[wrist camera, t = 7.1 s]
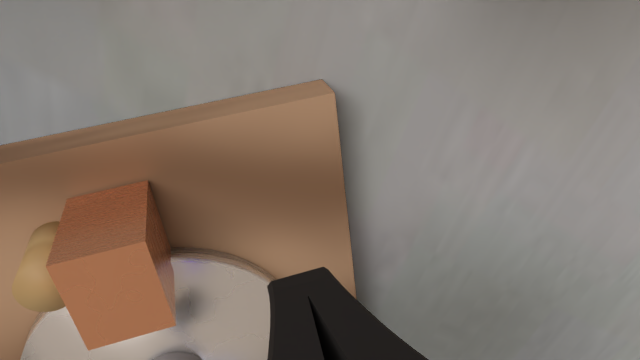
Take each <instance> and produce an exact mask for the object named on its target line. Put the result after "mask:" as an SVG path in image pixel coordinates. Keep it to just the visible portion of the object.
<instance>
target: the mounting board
mask: <svg viewBox="0 0 640 360" xmlns="http://www.w3.org/2000/svg"><path fill="white" fill-rule="evenodd" d="M146 180H148V182H149V185H150V188H151V191H152V194H153V197H154V200H155V203H156V206H157V209H158V212H159V215H160V218H161V221H162V224H163V227H164V230H165V233H166V236H167V239H168V242H169V245H170V247H194V248H203V249H212V250H216V251H220V252H225V253H229V254H232V255H235V256H238V257H240V258H243V259H246V260H248V261H250V262H251V263H253V264H255V265H257V266H259V267H261V268H262V269H264V270H265V271H266V272H268V273H269V274H271V275H272V276H273V277H274V278H275V279H276V280H277V279H281V278H284V277H288V276H291V275H295V274H299V273H302V272H306V271H309V270H313V269H317V268H320V267H325V268H327V269H329V271H330V272H331V273H332V274H333V275H334V277H335V278H336V279H337V280H338V281H339V282H340V283H341V284H342V285H343V287H344V288H345V289H346V290H347V291H348V292H349V293H350V294H351V295H352V296H353V297H354V298H355V299H356V290H355V280H354V271H353V261H352V252H351V243H350V233H349V224H348V214H347V205H346V195H345V186H344V176H343V167H342V157H341V148H340V138H339V129H338V119H337V110H336V100H335V92H334V91H333V90H332V89H331V88H330V87H329V86H328V85H327V84H326V83H325V82H324V81H323V80H322V79H321V80H316V81H311V82H306V83H302V84H297V85H292V86H287V87H282V88H277V89H272V90H268V91H263V92H258V93H253V94H248V95H243V96H238V97H234V98H229V99H224V100H219V101H214V102H209V103H204V104H200V105H195V106H190V107H185V108H180V109H175V110H171V111H166V112H161V113H156V114H151V115H146V116H141V117H137V118H132V119H127V120H122V121H117V122H112V123H107V124H103V125H98V126H93V127H88V128H83V129H78V130H73V131H69V132H64V133H59V134H54V135H49V136H44V137H40V138H35V139H30V140H25V141H20V142H15V143H10V144H6V145H1V146H0V360H20V359H21V356H22V352H23V349H24V346H25V343H26V340H27V337H28V334H29V331H30V329H31V327H32V325H33V323H34V321H35V319H36V318H37V316H38V314H39V313H40V312H52V311H56V310H59V309H62V308H64V307H66V306H65V304H64V302H63V300H62V298H61V296H60V294H59V292H58V290H57V288H56V286H55V284H54V282H53V280H52V278H51V276H50V274H49V272H48V270H47V268H46V263H47V260H48V257H49V254H50V251H51V248H52V245H53V241H54V238H55V235H56V232H57V229H58V226H59V223H60V219H61V216H62V213H63V210H64V207H65V204H66V201H67V199H68V198H72V197H77V196H81V195H85V194H90V193H94V192H98V191H103V190H107V189H111V188H116V187H120V186H124V185H129V184H133V183H137V182H142V181H146ZM356 300H357V299H356ZM152 360H201V359H200V358H198V357H197V356H195V355H192V354H189V353H184V352H172V353H167V354H163V355H160V356H158V357H156V358H154V359H152Z"/></svg>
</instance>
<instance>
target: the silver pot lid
mask: <svg viewBox="0 0 640 360" xmlns="http://www.w3.org/2000/svg"><path fill="white" fill-rule="evenodd" d="M46 268H47V270H48V272H49V274H50V276H51V278H52V280H53V282H54V284H55V286H56V288H57V290H58V292H59V294H60V296H61V298H62V300H63V302H64V304H65V306H66V307H64V308H62V309H59V310H56V311H52V312H40V313H39V314H38V316H37V318H36V319H35V321H34V323H33V325H32V327H31V329H30V331H29V334H28V337H27V340H26V343H25V346H24V349H23V352H22V356H21V359H20V360H152V359H154V358H156V357H158V356H160V355H163V354H167V353H172V352H184V353H189V354H192V355H195V356H197V357H198V358H200V359H201V360H267V359H268V348H269V336H270V300H269V293H268V289H267V286H268V285H269V283H270V282H271V281H273V280H276V279H275V278H274V277H273V276H272V275H271V274H269V273H268V272H266V271H265V270H264V269H262V268H261V267H259V266H257V265H255V264H253V263H251V262H250V261H248V260H246V259H243V258H240V257H238V256H235V255H232V254H229V253H225V252H220V251H216V250H212V249H203V248H194V247H170V245H169V242H168V239H167V236H166V233H165V230H164V227H163V224H162V221H161V218H160V215H159V212H158V209H157V206H156V203H155V200H154V197H153V194H152V191H151V188H150V185H149V182H148V180H146V181H142V182H137V183H133V184H129V185H124V186H120V187H116V188H111V189H107V190H103V191H98V192H94V193H90V194H85V195H81V196H77V197H72V198H68V199H67V201H66V204H65V207H64V210H63V213H62V216H61V219H60V223H59V226H58V229H57V232H56V235H55V238H54V241H53V245H52V248H51V251H50V254H49V257H48V260H47V263H46Z"/></svg>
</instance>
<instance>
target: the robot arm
mask: <svg viewBox="0 0 640 360" xmlns="http://www.w3.org/2000/svg"><path fill="white" fill-rule="evenodd" d="M267 289H268V293H269V300H270V336H269V348H268V359H267V360H428V359H427V358H425V357H424V356H423V355H421V354H420V353H419V352H417V351H416V350H415V349H413V348H412V347H411V346H409V345H408V344H407V343H406V342H404V341H403V340H402V339H400V338H399V337H398V336H397V335H396V334H394V333H393V332H392V331H391V330H389V329H388V328H387V327H386V326H385V325H384V324H383V323H381V322H380V321H379V320H378V319H377V318H376V317H375V316H374V315H372V314H371V313H370V312H369V311H368V310H367V309H366V308H365V307H364V306H363V305H361V304H360V303H359V302H358V301H357V300H356V299H355V298H354V297H353V296H352V295H351V294H350V293H349V292H348V291H347V290H346V289H345V288H344V287H343V285H342V284H341V283H340V282H339V281H338V280H337V279H336V278H335V277H334V275H333V274H332V273H331V272H330V271H329V269H327V268H325V267H320V268H317V269H313V270H309V271H306V272H302V273H299V274H295V275H291V276H288V277H284V278H281V279H277V280H273V281H271V282H270V283H269V285H268V286H267Z"/></svg>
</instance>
